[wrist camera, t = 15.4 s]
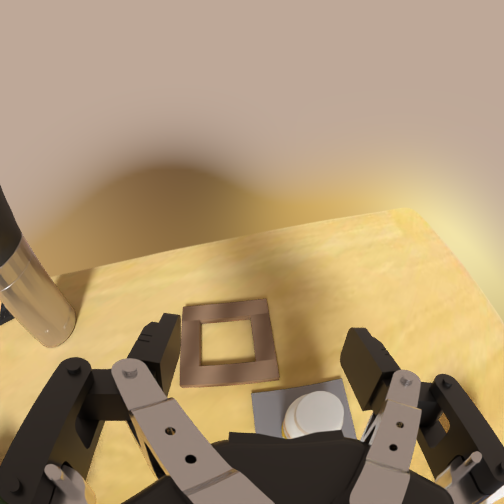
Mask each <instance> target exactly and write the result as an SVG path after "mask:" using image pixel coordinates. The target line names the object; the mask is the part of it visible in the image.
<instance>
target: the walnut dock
mask: <svg viewBox="0 0 504 504" xmlns="http://www.w3.org/2000/svg"><path fill="white" fill-rule="evenodd" d="M247 319H251V325H252V333H253V341H254V350H255V358H256V362H246V363H236V364H225V365H211V366H201V324H205V323H217V322H228V321H238V320H247ZM275 380H279V372H278V366H277V360H276V354H275V348H274V342H273V336H272V330H271V324H270V318H269V312H268V306H267V300H266V299H258V300H250V301H240V302H231V303H221V304H211V305H199V306H188V307H183V314H182V331H181V354H180V386H181V387H182V388H189V387H213V386H228V385H240V384H250V383H259V382H267V381H275Z"/></svg>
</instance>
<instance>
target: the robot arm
mask: <svg viewBox="0 0 504 504" xmlns="http://www.w3.org/2000/svg"><path fill="white" fill-rule="evenodd" d="M0 301H1V302H2V303H3V304H4V306H5V307H6V309H7V310H8V311H9V312H10V313H11V314H12V315H13V316H14V317H15V318H16V320H17V321H18V322H19V323H20V324H21V325H22V326H23V327H24V328H25V329H26V330H27V331H28V332H29V333H30V334H31V335H32V336H33V337H34V338H35V339H37V340H38V341H39V342H40V343H41V344H42V345H44V346H46V347H56V346H58V345H60V344H62V343H63V342H64V341H65V340H66V339H67V338H68V337H69V336H70V334H71V333H72V331H73V329H74V326H75V322H76V314H75V311H74V309H73V308H72V306H71V305H70V304H69V303H68V301H67V300H66V299H65V297H64V296H63V295H62V293H61V292H60V291H59V289H58V288H57V286H56V285H55V284H54V282H53V281H52V279H51V278H50V277H49V275H48V274H47V272H46V271H45V269H44V268H43V266H42V265H41V263H40V262H39V260H38V259H37V257H36V256H35V254H34V252H33V251H32V249H31V248H30V246H29V244H28V243H27V241H26V239H25V238H24V236H23V234H22V232H21V231H20V229H19V227H18V225H17V223H16V221H15V218H14V216H13V213H12V211H11V209H10V207H9V205H8V203H7V201H6V198H5V196H4V194H3V191H2V188H1V186H0ZM180 349H181V318H180V315H176V314H168V313H164V314H163V316H162V317H161V319H160V321H159V323H157V322H151V323H149V324H148V325H146V326H145V327H144V328H143V330H142V332H141V334H140V335H139V337H138V339H137V341H136V342H135V344H134V346H133V348H132V350H131V352H130V353H129V355H128V357H127V359H122V360H119V361H118V362H116V363H115V364H114V365H113V366H112V369H91V366H90V364H89V362H88V361H86V360H85V359H82V358H78V357H73V358H68V359H66V360H64V361H62V362H61V363H60V364H59V366H58V367H57V369H56V370H55V372H54V373H53V375H52V376H51V378H50V379H49V381H48V382H47V384H46V385H45V387H44V388H43V390H42V392H41V393H40V395H39V396H38V398H37V400H36V401H35V403H34V405H33V406H32V408H31V410H30V411H29V413H28V415H27V416H26V418H25V420H24V422H23V423H22V425H21V427H20V429H19V431H18V432H17V434H16V436H15V438H14V440H13V442H12V444H11V446H10V447H9V449H8V451H7V453H6V455H5V458H4V460H3V462H2V464H1V466H0V496H1V497H2V499H3V500H4V501H6V502H7V503H8V504H96V495H95V493H94V491H93V490H92V488H91V487H90V486H89V485H88V484H87V482H86V477H87V474H88V471H89V467H90V464H91V461H92V458H93V455H94V452H95V449H96V446H97V443H98V440H99V437H100V434H101V431H102V428H103V425H104V423H105V421H125V422H126V424H127V426H128V428H129V430H130V431H131V433H132V435H133V437H134V439H135V441H136V443H137V445H138V446H139V448H140V450H141V452H142V454H143V456H144V458H145V460H146V462H147V464H148V466H149V468H150V469H151V471H152V473H153V474H154V476H155V477H156V479H157V481H155V482H154V483H153V484H151V485H150V486H148V487H147V488H145V489H144V490H142V491H141V492H139V493H137V494H136V495H134V496H133V497H131V498H129V499H128V500H126V501H125V502H123V503H121V504H481V503H482V502H484V501H485V500H486V499H488V498H489V497H490V496H491V495H493V494H494V493H495V492H496V491H497V490H499V489H500V488H501V487H502V486H503V485H504V447H503V445H502V444H501V442H500V440H499V439H498V437H497V436H496V434H495V433H494V431H493V430H492V428H491V427H490V425H489V424H488V423H487V421H486V420H485V418H484V417H483V415H482V414H481V413H480V411H479V410H478V408H477V407H476V406H475V404H474V403H473V402H472V400H471V399H470V398H469V396H468V395H467V394H466V392H465V391H464V390H463V388H462V387H461V386H460V384H459V383H458V382H457V381H456V380H455V379H454V378H453V377H451V376H449V375H446V374H439V375H437V376H436V377H435V379H434V381H433V383H427V382H421V381H420V379H419V377H418V376H417V375H416V374H414V373H413V372H411V371H407V370H401V369H400V367H399V366H398V365H397V363H396V362H395V361H394V359H393V358H392V356H391V355H390V354H389V352H388V351H387V350H386V348H385V347H384V346H383V344H382V343H381V342H380V341H378V340H377V339H376V338H374V337H372V336H371V334H370V333H369V332H368V330H367V329H366V328H350V329H349V331H348V334H347V337H346V340H345V343H344V346H343V349H342V352H341V356H340V363H341V366H342V368H343V370H344V372H345V374H346V377H347V379H348V381H349V383H350V385H351V387H352V389H353V391H354V394H355V396H356V398H357V400H358V402H359V404H360V406H361V409H362V411H366V410H373V413H372V415H371V417H370V419H369V422H368V424H367V426H366V429H365V431H364V433H363V435H362V438H361V440H360V441H359V440H356V439H353V438H347V437H344V435H343V432H342V430H334V431H323V432H315V433H311V434H308V435H304V436H300V437H296V438H292V439H285V438H279V437H274V436H269V435H264V434H259V433H236V432H229V439H228V440H223V441H218V442H215V443H212V444H210V443H209V442H208V441H207V440H206V438H205V437H204V436H203V435H202V434H201V432H200V431H199V430H198V429H197V427H196V426H195V425H194V424H193V422H192V421H191V420H190V418H189V417H188V416H187V415H186V413H185V412H184V411H183V409H182V408H181V407H180V405H179V404H178V402H177V401H176V400H175V399H174V398H172V397H171V398H167V396H168V392H169V389H170V385H171V382H172V379H173V375H174V372H175V368H176V365H177V362H178V358H179V355H180ZM443 412H444V414H445V415H446V417H447V419H448V420H449V422H450V429H449V431H448V433H447V434H446V432H445V430H444V429H443V427H442V425H441V424H440V422H439V420H438V419H439V418H440V416H441V415H442V414H443ZM416 439H417V441H418V443H419V445H420V447H421V450H422V452H423V454H424V456H425V458H426V460H427V463H428V465H429V467H430V469H431V472H432V474H433V476H434V478H435V483H434V482H432V481H430V480H428V479H426V478H424V477H422V476H421V475H419V474H417V473H415V472H413V471H412V470H410V469H409V467H410V463H411V459H412V455H413V451H414V447H415V443H416Z"/></svg>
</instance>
